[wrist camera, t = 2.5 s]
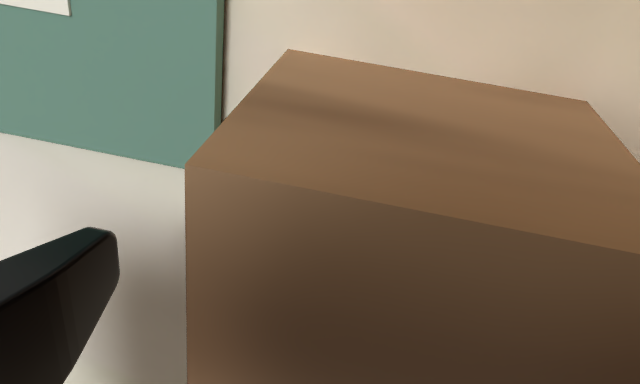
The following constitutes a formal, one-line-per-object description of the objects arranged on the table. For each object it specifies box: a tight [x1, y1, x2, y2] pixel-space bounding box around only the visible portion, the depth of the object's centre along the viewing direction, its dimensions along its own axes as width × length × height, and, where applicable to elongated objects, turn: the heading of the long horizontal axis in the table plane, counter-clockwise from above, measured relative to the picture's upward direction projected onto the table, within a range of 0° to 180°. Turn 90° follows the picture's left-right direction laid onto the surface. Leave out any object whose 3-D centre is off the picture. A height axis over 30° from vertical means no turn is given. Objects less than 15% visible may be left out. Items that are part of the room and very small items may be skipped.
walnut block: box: [185, 49, 640, 384], centre depth 9 cm, size 6×6×5 cm
